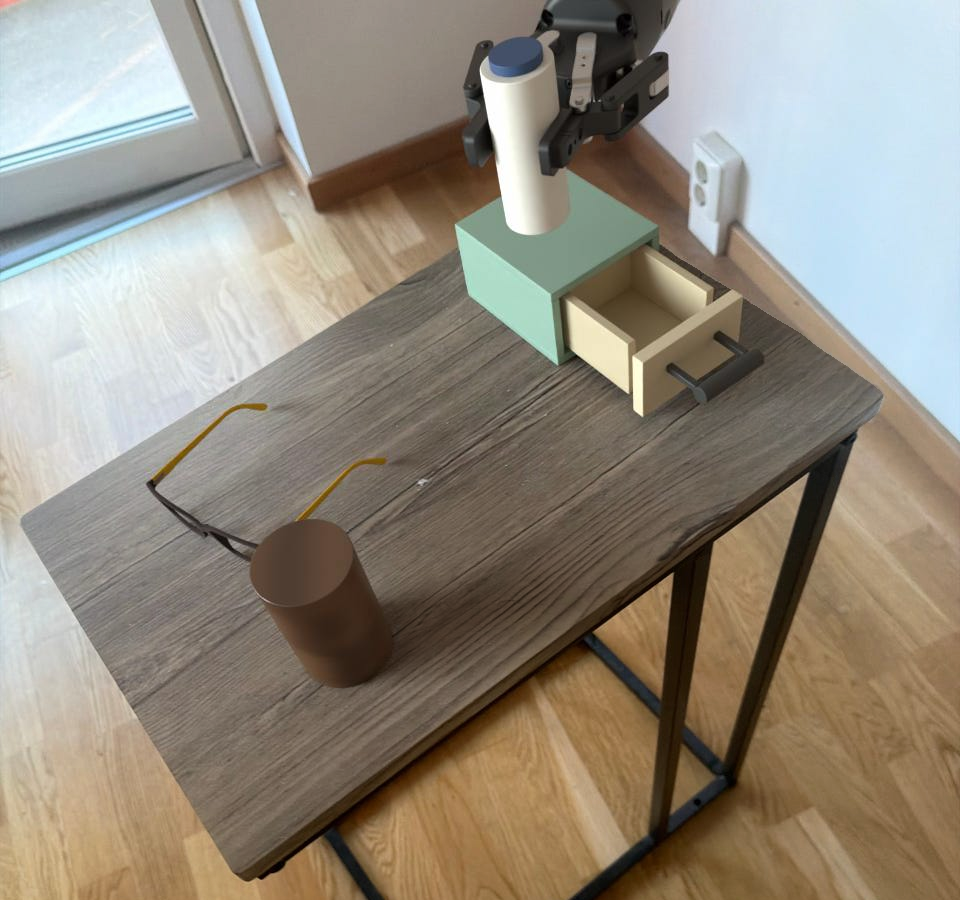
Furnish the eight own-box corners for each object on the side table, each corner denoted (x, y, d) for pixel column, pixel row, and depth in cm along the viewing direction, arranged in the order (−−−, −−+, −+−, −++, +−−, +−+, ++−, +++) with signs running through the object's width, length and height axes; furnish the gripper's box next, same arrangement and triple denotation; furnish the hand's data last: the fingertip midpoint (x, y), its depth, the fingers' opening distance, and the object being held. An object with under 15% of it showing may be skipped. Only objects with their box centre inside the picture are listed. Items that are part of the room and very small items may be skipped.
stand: (390, 600, 71) (352, 510, 62) (394, 680, 68) (354, 596, 58) (302, 615, 72) (250, 528, 63) (301, 695, 68) (246, 614, 59)
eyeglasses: (157, 519, 79) (135, 489, 76) (267, 407, 84) (251, 374, 81) (278, 587, 74) (261, 557, 70) (388, 462, 79) (377, 429, 75)
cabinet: (658, 300, 84) (659, 225, 77) (558, 366, 82) (550, 295, 75) (563, 236, 91) (557, 162, 84) (468, 295, 88) (454, 223, 82)
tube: (579, 196, 63) (562, 30, 54) (558, 238, 61) (537, 73, 52) (519, 192, 65) (493, 30, 56) (496, 233, 63) (466, 72, 54)
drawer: (779, 381, 76) (789, 324, 71) (683, 449, 73) (686, 395, 69) (637, 284, 84) (636, 227, 79) (547, 343, 82) (541, 288, 77)
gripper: (512, -56, 63) (393, 87, 57) (717, -52, 58) (613, 107, 51) (527, 58, 70) (421, 199, 63) (713, 71, 64) (620, 227, 58)
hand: (508, 157), depth 57 cm, fingers closed on tube, 4 cm apart
